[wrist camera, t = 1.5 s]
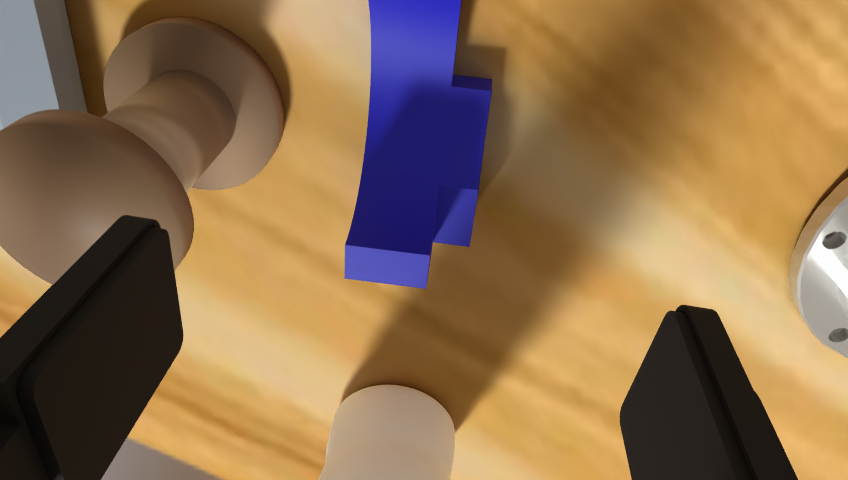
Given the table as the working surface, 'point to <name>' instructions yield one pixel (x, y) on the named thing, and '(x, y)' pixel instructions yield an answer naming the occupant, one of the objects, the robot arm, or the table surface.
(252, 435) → the table surface
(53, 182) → the door knob
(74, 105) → the notched board
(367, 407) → the water bottle
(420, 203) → the cable clip
